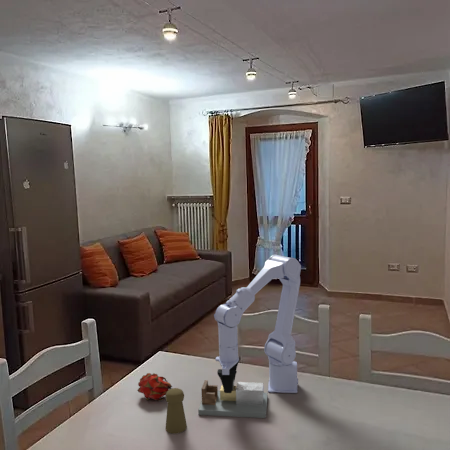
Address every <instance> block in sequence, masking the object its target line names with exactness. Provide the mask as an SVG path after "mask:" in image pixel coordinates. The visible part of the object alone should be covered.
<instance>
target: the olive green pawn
mask: <svg viewBox="0 0 450 450" xmlns="http://www.w3.org/2000/svg"><path fill="white" fill-rule="evenodd" d="M164 396H165V400H166V402H167V408H166V418H165V431H166V432H167V433H169V434H174V435H175V434H176V435H177V434H180V433H181V434H182V433H183V432H185V431H186V430H187V427H188V426H187V425H188V424H187V419H186V415H185V408H184V403H183V401H184V399H185V394H184V391H183V389H181V388H179V387H175V388H174V387H172V389H170V390H168V391H167V393H166V395H164Z"/></svg>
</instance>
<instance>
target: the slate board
mask: <svg viewBox="0 0 450 450" xmlns="http://www.w3.org/2000/svg"><path fill="white" fill-rule="evenodd" d="M267 409H268V392H264V401H263V407H259V406H237V405H236V401H223V400H220V390H218V397H217V400H216V403H215V405H203V404H202V400H201V402H200V405H199V407H198V411H197V412H198V415H199V416H214V417H215V416H217V417H218V416H220V417H221V416H222V417H236V418H237V417H238V418H256V419H257V418H259V419H266V418H267Z"/></svg>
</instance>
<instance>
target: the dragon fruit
mask: <svg viewBox="0 0 450 450" xmlns="http://www.w3.org/2000/svg"><path fill="white" fill-rule="evenodd" d="M168 381H169V380H167V378H165V377H164V376H159V374H157V373H154V372H153V373H150V372H147V373H146V374H145V375H142V377H141V378H140V379H139V382H138V384H137V385H138V389H137V390H136V391H138V393H141V394H143V395H144V398H145V400H146V401H149V400H150V399H152V400H154V401H157V402H159V401H164V400H165V398H164V396H166V393H167V391H168V390H170V389H173V386H172V384H171V383H170V382H168Z"/></svg>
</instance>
